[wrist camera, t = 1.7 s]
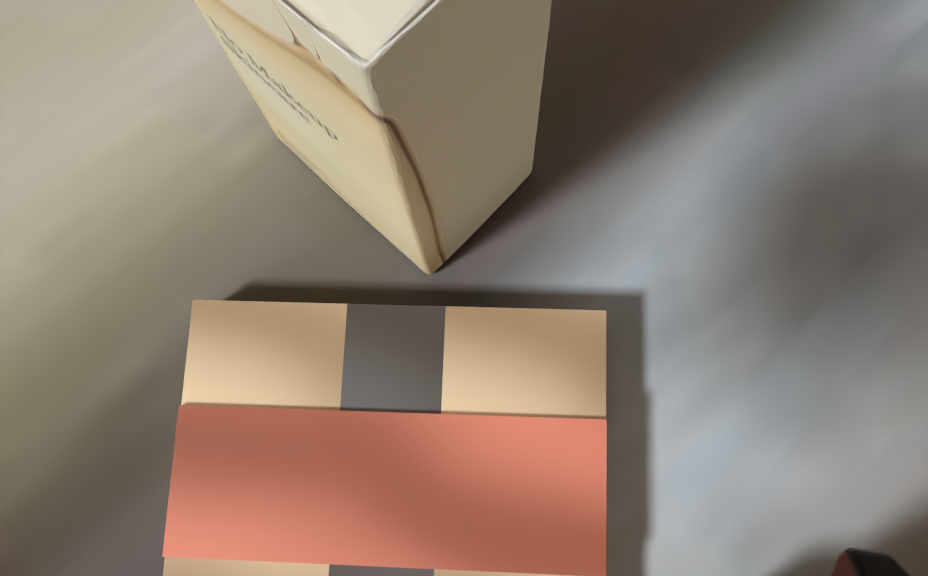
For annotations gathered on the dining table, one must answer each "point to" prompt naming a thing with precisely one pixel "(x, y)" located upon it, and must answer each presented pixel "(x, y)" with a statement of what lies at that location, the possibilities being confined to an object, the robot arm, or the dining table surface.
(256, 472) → the board
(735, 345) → the dining table surface
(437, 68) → the skincare box
